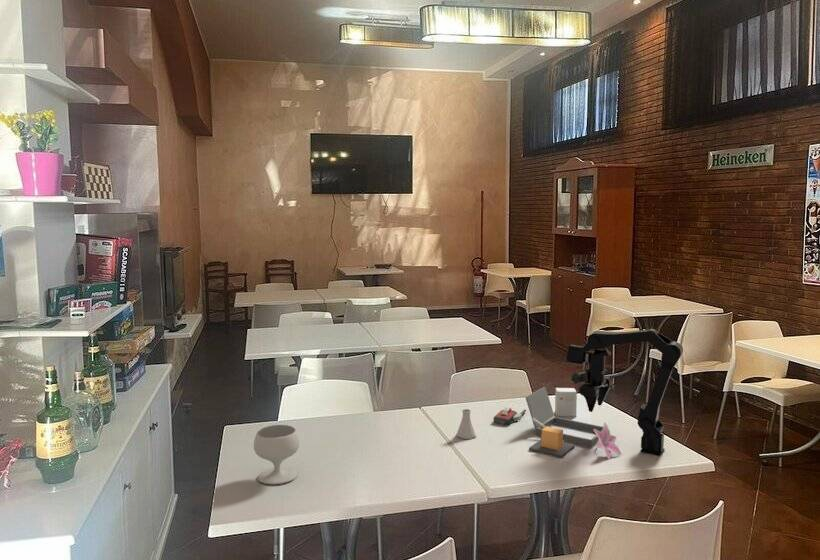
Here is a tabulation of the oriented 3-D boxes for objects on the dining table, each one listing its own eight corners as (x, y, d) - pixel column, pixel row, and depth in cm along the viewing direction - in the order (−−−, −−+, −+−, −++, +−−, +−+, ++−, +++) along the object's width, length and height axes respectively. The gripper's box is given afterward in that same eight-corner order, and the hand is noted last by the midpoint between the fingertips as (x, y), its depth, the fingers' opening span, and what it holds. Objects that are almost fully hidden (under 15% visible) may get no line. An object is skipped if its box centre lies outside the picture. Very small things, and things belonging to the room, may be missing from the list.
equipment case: (607, 434, 227) (608, 398, 226) (590, 448, 213) (591, 410, 211) (543, 420, 242) (543, 386, 241) (523, 433, 228) (523, 397, 227)
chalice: (258, 468, 196) (257, 424, 195) (302, 467, 197) (301, 422, 196) (250, 487, 182) (249, 439, 181) (297, 486, 183) (296, 438, 182)
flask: (479, 438, 223) (479, 411, 222) (461, 440, 220) (462, 414, 219) (470, 431, 230) (470, 406, 229) (453, 434, 227) (453, 408, 226)
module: (562, 446, 212) (563, 429, 212) (557, 450, 209) (558, 433, 208) (546, 442, 216) (547, 426, 215) (541, 446, 212) (541, 429, 212)
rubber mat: (575, 447, 214) (575, 444, 213) (561, 458, 204) (561, 455, 204) (543, 440, 221) (543, 437, 221) (529, 450, 211) (529, 447, 211)
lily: (589, 463, 203) (603, 442, 199) (576, 438, 213) (590, 418, 209) (618, 470, 206) (633, 450, 202) (604, 445, 216) (618, 425, 212)
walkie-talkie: (512, 428, 234) (527, 413, 252) (513, 417, 234) (528, 403, 252) (491, 424, 238) (507, 410, 256) (491, 414, 238) (507, 400, 256)
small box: (574, 412, 252) (574, 387, 251) (576, 416, 247) (577, 391, 246) (554, 411, 253) (555, 387, 252) (556, 416, 248) (557, 391, 247)
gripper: (584, 358, 230) (583, 398, 232) (565, 368, 215) (563, 410, 217) (613, 362, 223) (612, 403, 225) (595, 372, 209) (594, 416, 210)
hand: (595, 408), depth 219 cm, fingers open, 9 cm apart
